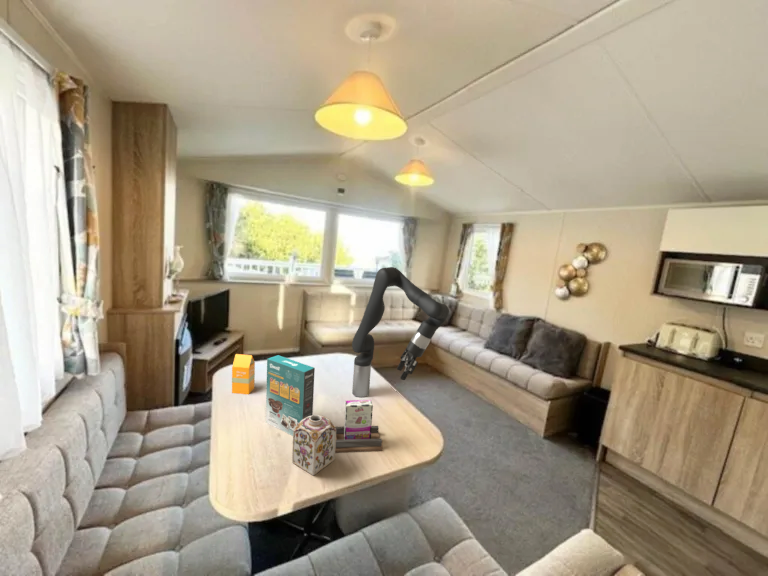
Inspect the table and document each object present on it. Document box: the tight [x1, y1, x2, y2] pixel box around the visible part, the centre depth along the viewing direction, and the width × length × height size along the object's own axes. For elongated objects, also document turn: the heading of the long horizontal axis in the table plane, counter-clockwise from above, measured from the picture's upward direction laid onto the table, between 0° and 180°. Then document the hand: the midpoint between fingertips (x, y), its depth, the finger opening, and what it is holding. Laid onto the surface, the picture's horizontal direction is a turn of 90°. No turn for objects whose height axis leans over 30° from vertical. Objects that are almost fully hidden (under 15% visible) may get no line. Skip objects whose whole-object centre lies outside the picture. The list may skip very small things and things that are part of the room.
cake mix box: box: [265, 354, 316, 437], centre depth 146 cm, size 22×6×30 cm, turn 59°
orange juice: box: [231, 353, 256, 395], centre depth 177 cm, size 8×9×20 cm
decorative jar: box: [291, 414, 336, 476], centre depth 127 cm, size 12×12×18 cm
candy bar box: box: [343, 399, 374, 440], centre depth 142 cm, size 11×5×16 cm, turn 101°
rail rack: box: [335, 425, 383, 453], centre depth 142 cm, size 14×20×4 cm
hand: (400, 374), depth 148 cm, fingers open, 8 cm apart
